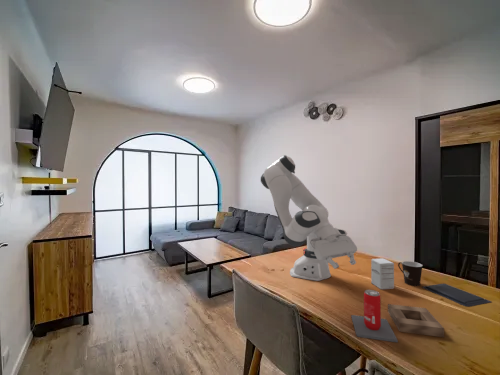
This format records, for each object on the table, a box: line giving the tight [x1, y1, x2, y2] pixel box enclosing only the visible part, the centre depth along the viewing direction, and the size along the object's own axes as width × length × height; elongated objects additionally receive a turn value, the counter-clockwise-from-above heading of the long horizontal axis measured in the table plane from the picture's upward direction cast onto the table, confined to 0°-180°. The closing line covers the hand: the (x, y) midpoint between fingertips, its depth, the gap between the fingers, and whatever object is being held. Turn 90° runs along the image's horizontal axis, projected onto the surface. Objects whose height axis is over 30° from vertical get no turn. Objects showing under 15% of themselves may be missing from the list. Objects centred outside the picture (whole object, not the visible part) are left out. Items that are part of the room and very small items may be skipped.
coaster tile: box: [350, 314, 398, 343], centre depth 82 cm, size 12×12×1 cm
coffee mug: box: [397, 260, 423, 287], centre depth 120 cm, size 12×9×10 cm
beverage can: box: [363, 289, 382, 331], centre depth 82 cm, size 5×5×12 cm
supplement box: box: [370, 257, 395, 290], centre depth 116 cm, size 7×7×13 cm
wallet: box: [421, 283, 492, 308], centre depth 107 cm, size 20×2×15 cm
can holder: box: [387, 303, 445, 338], centre depth 85 cm, size 13×13×3 cm
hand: (345, 265), depth 93 cm, fingers open, 8 cm apart
